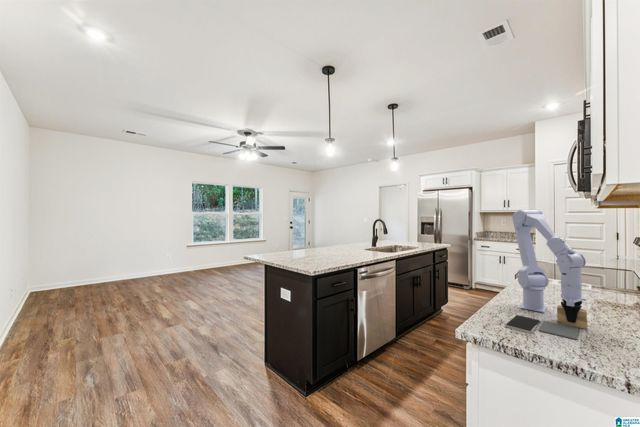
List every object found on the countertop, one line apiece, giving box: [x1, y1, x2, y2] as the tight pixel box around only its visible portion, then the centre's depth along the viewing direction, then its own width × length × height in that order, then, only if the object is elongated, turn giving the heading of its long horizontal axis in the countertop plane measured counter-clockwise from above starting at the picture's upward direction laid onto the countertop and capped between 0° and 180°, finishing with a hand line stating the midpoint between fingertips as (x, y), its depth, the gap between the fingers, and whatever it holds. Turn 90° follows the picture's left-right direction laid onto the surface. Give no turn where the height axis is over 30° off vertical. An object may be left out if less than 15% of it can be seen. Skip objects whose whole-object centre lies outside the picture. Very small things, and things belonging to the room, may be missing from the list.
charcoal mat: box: [538, 320, 580, 341], centre depth 96 cm, size 12×10×1 cm
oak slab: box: [556, 304, 588, 330], centre depth 101 cm, size 4×8×6 cm, turn 44°
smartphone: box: [505, 314, 542, 334], centre depth 102 cm, size 8×1×15 cm
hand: (572, 320), depth 101 cm, fingers closed on oak slab, 4 cm apart
